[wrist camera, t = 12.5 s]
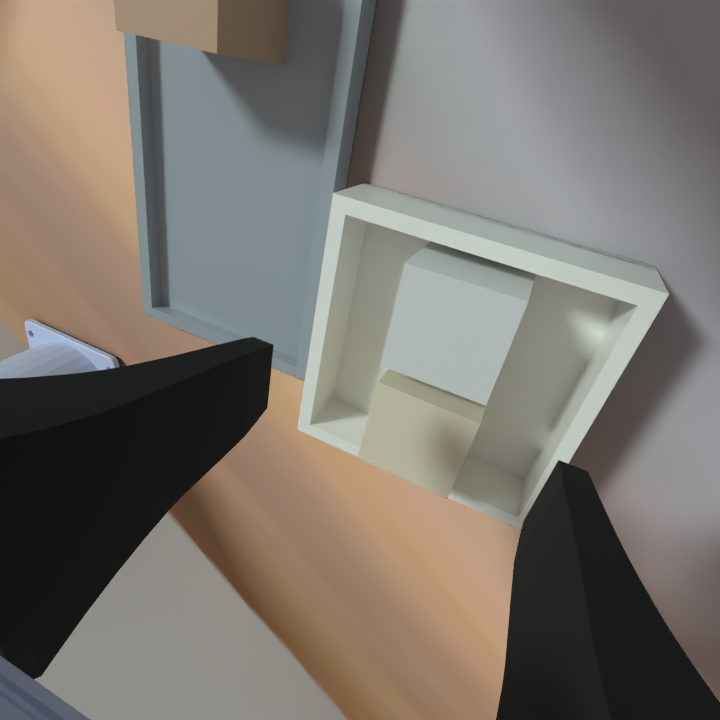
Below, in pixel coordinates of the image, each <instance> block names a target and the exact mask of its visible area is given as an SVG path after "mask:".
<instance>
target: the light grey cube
mask: <svg viewBox="0 0 720 720" xmlns="http://www.w3.org/2000/svg"><path fill="white" fill-rule="evenodd" d="M535 275H536V274H535V273H531V272H528V271H525V270H522V269H519V268H515V267H512V266H509V265H506V264H503V263H499V262H496V261H493V260H490V259H486V258H483V257H480V256H477V255H474V254H470V253H467V252H464V251H461V250H458V249H454V248H451V247H448V246H445V245H442V244H438V243H435V242H432V241H430V242H429V243H428V244H427V245H425V246H424V247H423V248H422V249H421V250H419V251H418V252H417V253H416V254H415V255H414V256H412V257H411V258H410V259H409V260H408V261H407V262H405V264H404V268H403V272H402V277H401V281H400V285H399V289H398V293H397V298H396V302H395V306H394V310H393V314H392V319H391V323H390V327H389V331H388V335H387V339H386V344H385V348H384V352H383V356H382V360H381V365H380V366H383V367H385V368H388V369H390V370H393V371H396V372H398V373H401V374H404V375H406V376H409V377H412V378H414V379H417V380H419V381H422V382H425V383H427V384H430V385H433V386H435V387H438V388H441V389H443V390H446V391H448V392H451V393H454V394H456V395H459V396H462V397H464V398H467V399H470V400H472V401H475V402H477V403H480V404H483V405H485V406H486V405H487V402H488V400H489V397H490V395H491V392H492V390H493V388H494V385H495V383H496V380H497V378H498V375H499V373H500V370H501V368H502V365H503V363H504V360H505V358H506V356H507V353H508V351H509V348H510V346H511V343H512V341H513V338H514V336H515V333H516V331H517V328H518V326H519V324H520V321H521V319H522V316H523V314H524V311H525V309H526V306H527V304H528V301H529V297H530V294H531V290H532V286H533V283H534V279H535Z"/></svg>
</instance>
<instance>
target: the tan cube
mask: <svg viewBox="0 0 720 720" xmlns="http://www.w3.org/2000/svg"><path fill="white" fill-rule="evenodd" d="M289 2H290V0H114V3H115V16H116V29H117V31H122V32H126V33H130V34H134V35H139V36H143V37H147V38H151V39H156V40H160V41H164V42H168V43H173V44H177V45H181V46H185V47H190V48H194V49H198V50H202V51H207V52H211V53H215V54H220V55H226V56H232V57H238V58H244V59H250V60H256V61H262V62H267V63H273V64H279V65H284V62H285V50H286V38H287V26H288V14H289Z"/></svg>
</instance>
